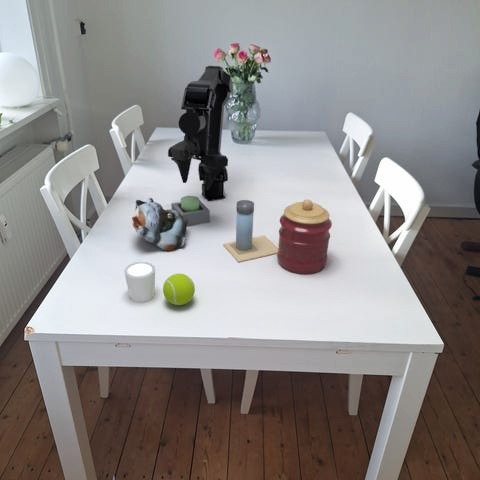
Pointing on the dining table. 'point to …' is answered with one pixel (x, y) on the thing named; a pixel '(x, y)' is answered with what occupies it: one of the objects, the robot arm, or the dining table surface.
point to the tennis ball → (179, 289)
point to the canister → (304, 237)
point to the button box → (194, 214)
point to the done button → (189, 204)
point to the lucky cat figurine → (159, 225)
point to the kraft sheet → (253, 249)
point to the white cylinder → (140, 281)
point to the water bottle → (244, 225)
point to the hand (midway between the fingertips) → (195, 186)
